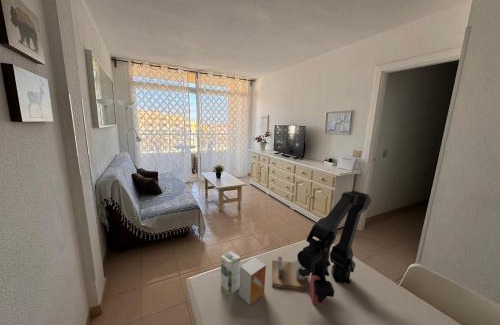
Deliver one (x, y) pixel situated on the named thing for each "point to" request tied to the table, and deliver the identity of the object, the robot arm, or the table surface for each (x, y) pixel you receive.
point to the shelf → (287, 276)
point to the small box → (252, 280)
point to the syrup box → (230, 272)
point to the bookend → (280, 267)
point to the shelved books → (298, 272)
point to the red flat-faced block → (312, 293)
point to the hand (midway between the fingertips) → (316, 291)
